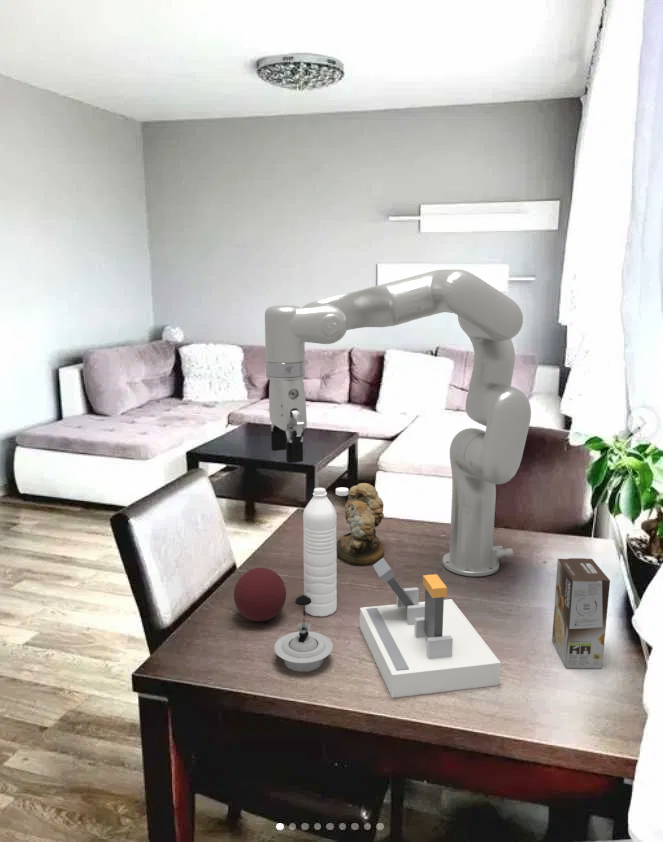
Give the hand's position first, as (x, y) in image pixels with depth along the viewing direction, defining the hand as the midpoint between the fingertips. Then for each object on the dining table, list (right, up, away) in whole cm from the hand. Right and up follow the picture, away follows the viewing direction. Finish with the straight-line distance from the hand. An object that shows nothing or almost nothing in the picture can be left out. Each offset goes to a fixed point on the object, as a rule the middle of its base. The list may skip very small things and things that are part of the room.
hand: (286, 455), depth 134 cm
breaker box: (+25, -34, -16) cm, 45 cm away
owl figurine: (+15, -25, +28) cm, 40 cm away
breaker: (+24, -27, -10) cm, 38 cm away
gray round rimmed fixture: (+4, -35, -18) cm, 39 cm away
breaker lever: (+26, -30, -21) cm, 45 cm away
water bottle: (+8, -31, 0) cm, 32 cm away
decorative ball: (-5, -31, -4) cm, 32 cm away
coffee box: (+52, -34, -16) cm, 64 cm away
